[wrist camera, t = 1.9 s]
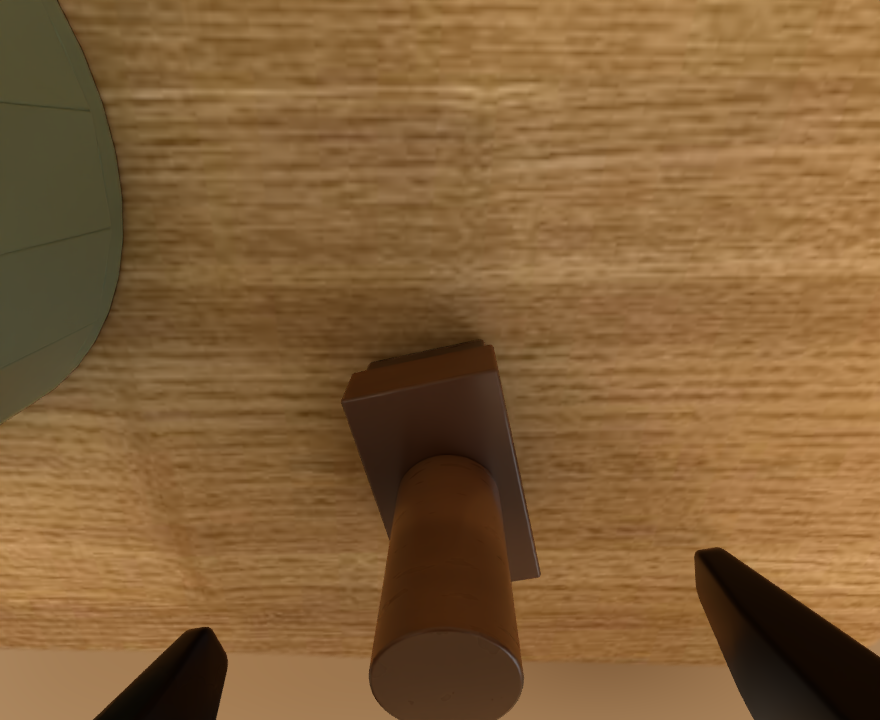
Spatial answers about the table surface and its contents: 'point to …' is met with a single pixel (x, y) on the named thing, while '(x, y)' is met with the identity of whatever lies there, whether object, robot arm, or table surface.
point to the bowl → (51, 204)
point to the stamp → (444, 532)
